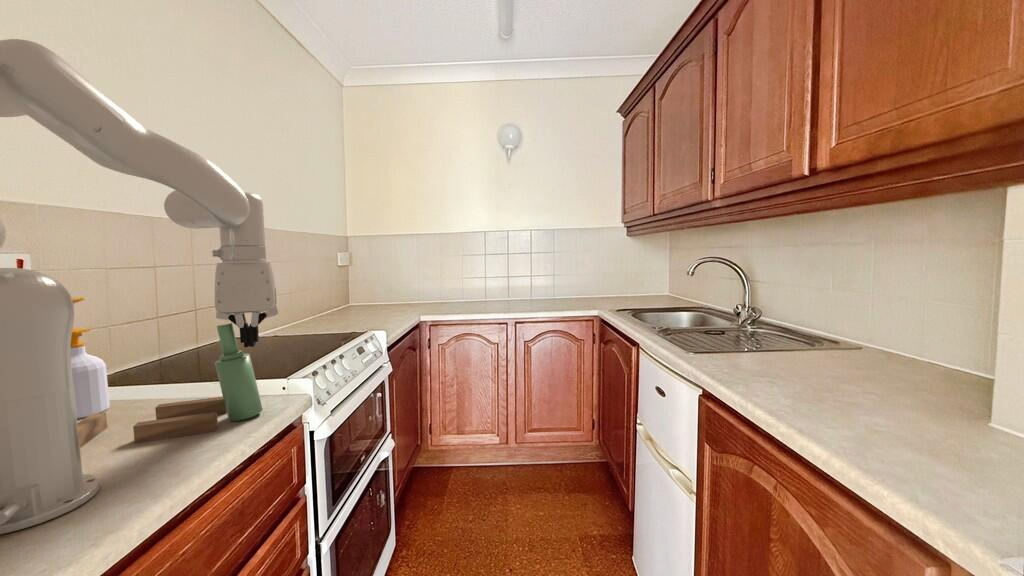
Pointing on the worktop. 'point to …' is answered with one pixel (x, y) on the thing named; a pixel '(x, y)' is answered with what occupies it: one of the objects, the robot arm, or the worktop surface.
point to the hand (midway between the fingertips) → (250, 345)
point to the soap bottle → (87, 377)
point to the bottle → (236, 378)
